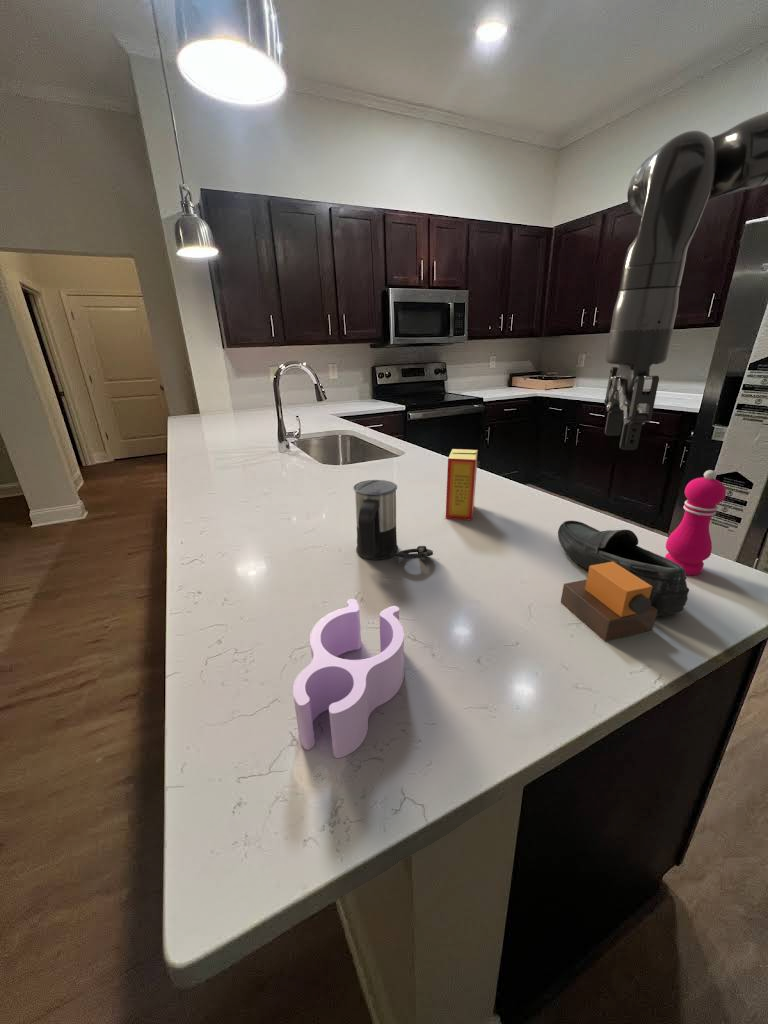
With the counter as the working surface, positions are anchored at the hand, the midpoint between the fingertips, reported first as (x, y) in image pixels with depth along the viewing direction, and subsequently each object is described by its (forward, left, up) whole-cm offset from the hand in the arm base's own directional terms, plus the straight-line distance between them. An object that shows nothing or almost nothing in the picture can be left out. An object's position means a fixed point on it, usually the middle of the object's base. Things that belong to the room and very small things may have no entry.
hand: (619, 441), depth 64 cm
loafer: (-5, -7, -28) cm, 29 cm away
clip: (+35, +30, -28) cm, 54 cm away
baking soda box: (+26, -33, -28) cm, 50 cm away
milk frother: (+38, -7, -28) cm, 47 cm away
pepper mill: (-19, -14, -28) cm, 37 cm away
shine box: (-1, +6, -28) cm, 28 cm away
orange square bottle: (-2, +8, -22) cm, 23 cm away
